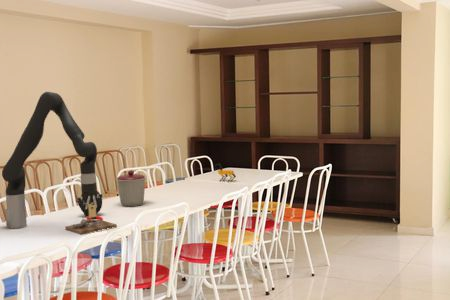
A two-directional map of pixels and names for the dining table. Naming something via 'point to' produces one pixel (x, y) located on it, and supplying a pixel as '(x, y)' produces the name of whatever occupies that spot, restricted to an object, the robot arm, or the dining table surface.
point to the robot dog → (225, 173)
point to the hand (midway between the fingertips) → (90, 215)
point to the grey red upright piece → (95, 217)
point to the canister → (131, 189)
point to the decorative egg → (90, 203)
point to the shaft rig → (90, 226)
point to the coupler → (91, 210)
